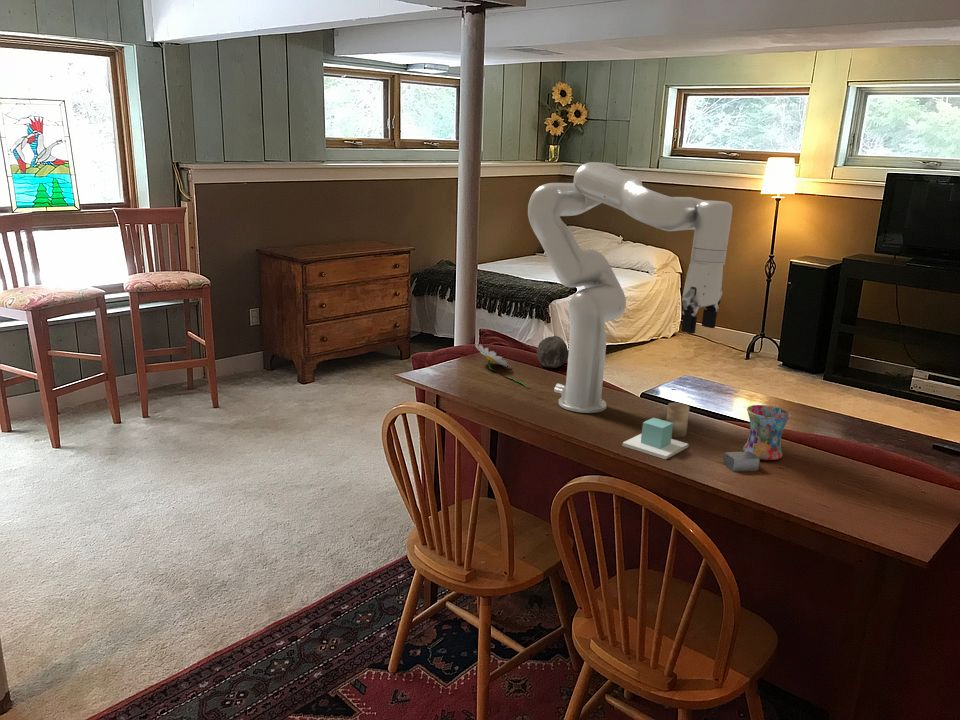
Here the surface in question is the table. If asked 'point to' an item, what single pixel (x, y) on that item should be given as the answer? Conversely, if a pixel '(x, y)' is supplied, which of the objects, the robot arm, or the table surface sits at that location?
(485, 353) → the flower
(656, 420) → the block
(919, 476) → the table surface
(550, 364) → the rock
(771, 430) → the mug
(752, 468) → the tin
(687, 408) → the cork cylinder
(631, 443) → the coaster
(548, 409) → the table surface
